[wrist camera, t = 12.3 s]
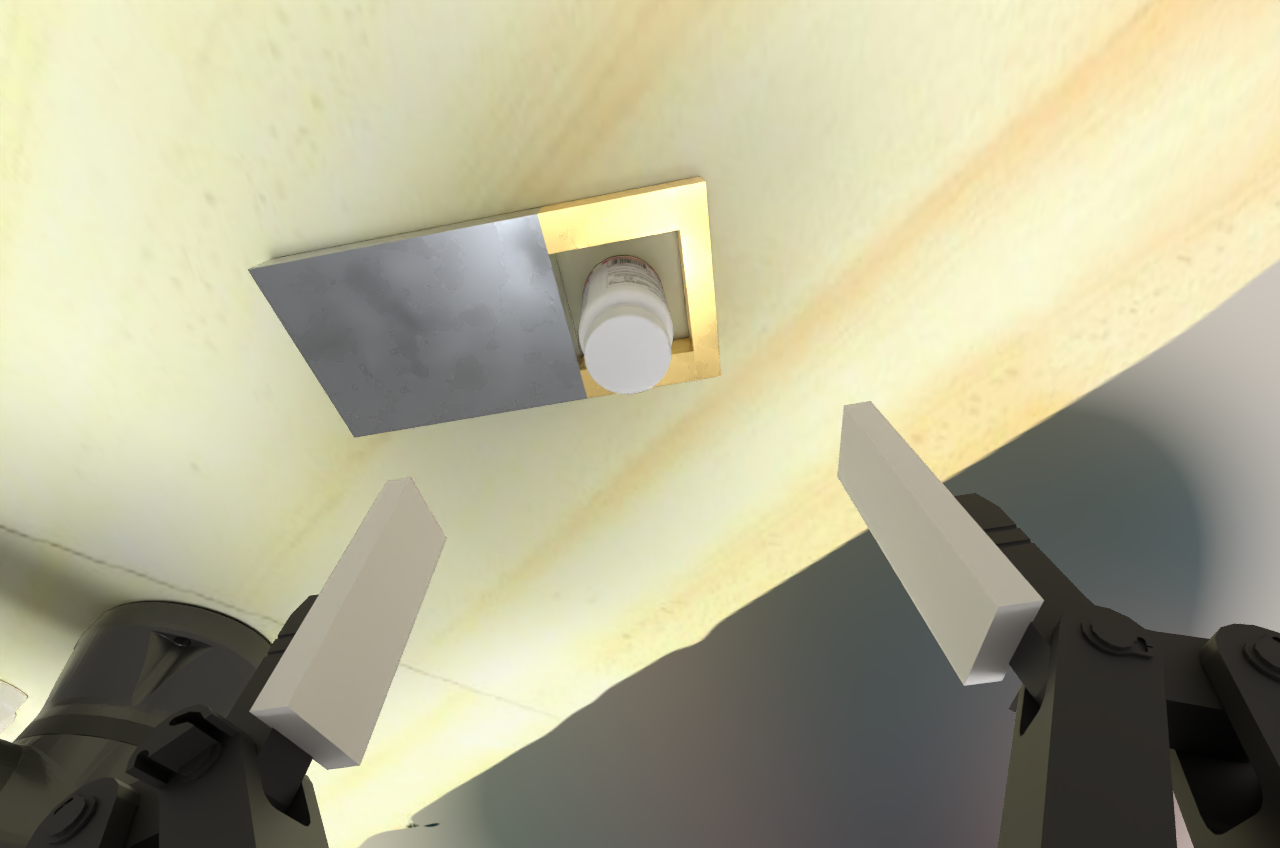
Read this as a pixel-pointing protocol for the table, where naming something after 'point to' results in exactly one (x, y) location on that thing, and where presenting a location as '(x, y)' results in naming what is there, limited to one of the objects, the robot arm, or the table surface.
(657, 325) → the pill bottle
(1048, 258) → the table surface
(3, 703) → the jar
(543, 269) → the flat tray
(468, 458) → the table surface
